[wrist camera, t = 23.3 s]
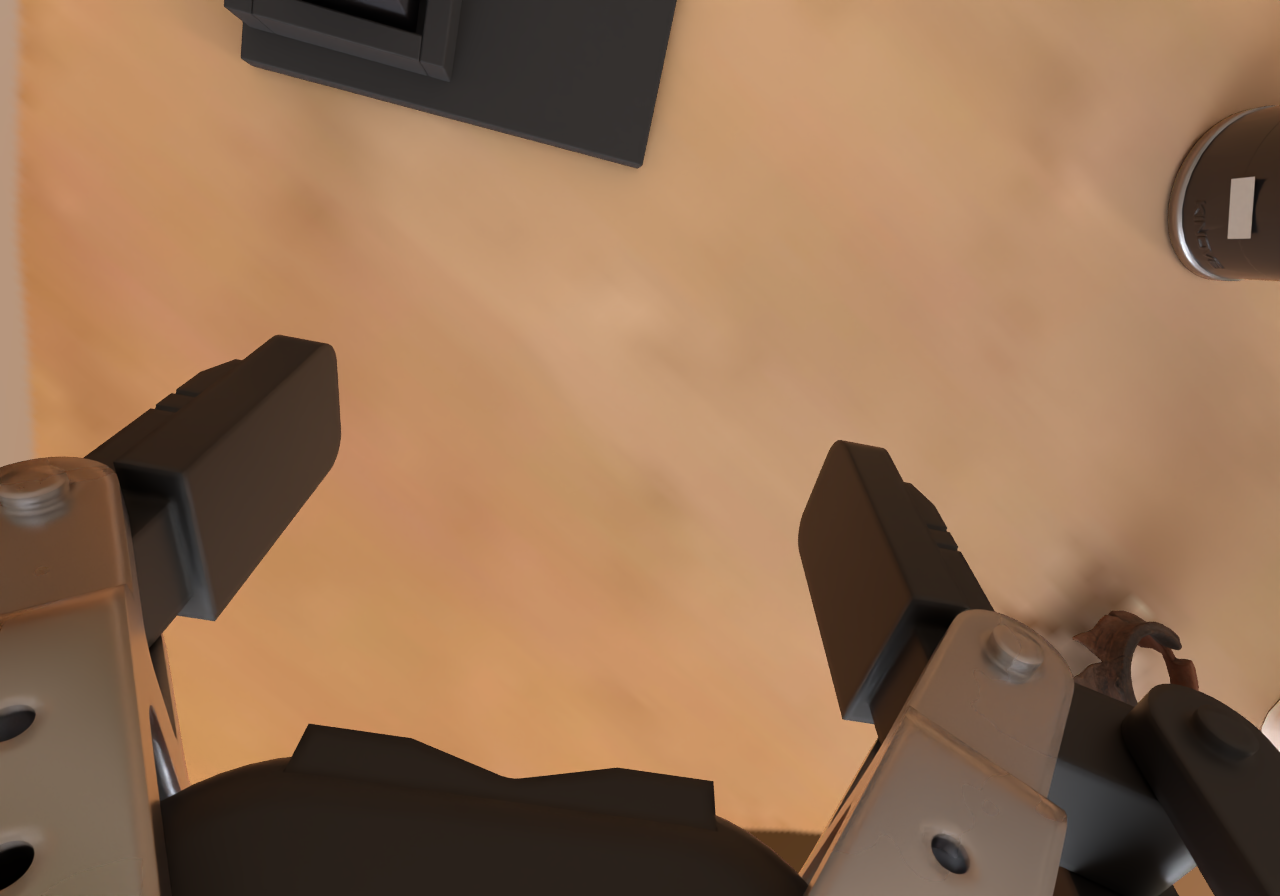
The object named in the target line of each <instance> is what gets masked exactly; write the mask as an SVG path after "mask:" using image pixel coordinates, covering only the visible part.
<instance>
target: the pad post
mask: <svg viewBox="0 0 1280 896" xmlns="http://www.w3.org/2000/svg"><path fill="white" fill-rule="evenodd" d="M304 1H307V2H311V3H314V4H318V5H321V6H325V7H328V8H332V9H335V10H339V11H342V12H346V13H349V14H353V15H356V16H359V17H363V18H366V19H370V20H373V21H377V22H380V23H384V24H387V25H391V26H394V27H398V28H401V29H405V30H408V31H412V32H416V25H417V17H418V9H419V1H420V0H304Z"/></svg>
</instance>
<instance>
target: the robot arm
mask: <svg viewBox="0 0 1280 896" xmlns="http://www.w3.org/2000/svg"><path fill="white" fill-rule="evenodd" d="M1168 229H1169V236H1170V240H1171V243H1172V246H1173V249H1174V251H1175V253H1176V255H1177V256H1178V258H1179V260H1180V261H1181V262H1182V263H1183V265H1184V266H1185V267H1186V268H1187V269H1189V270H1190V271H1191V272H1193V273H1194V274H1196V275H1198V276H1200V277H1203V278H1206V279H1210V280H1221V281H1239V280H1268V281H1280V105H1279V106H1264V107H1259V108H1254V109H1249V110H1245V111H1241V112H1238V113H1235V114H1233V115H1231V116H1229V117H1227V118H1225V119H1224V120H1222V121H1220V122H1219V123H1217V124H1216V125H1215V126H1213V127H1212V128H1211V129H1210V130H1209V131H1207V132H1206V133H1205V134H1204V135H1203V136H1202V137H1201V138H1200V140H1199V141H1198V142H1197V143H1196V144H1195V145H1194V147H1193V148H1192V149H1191V151H1190V152H1189V154H1188V155H1187V157H1186V158H1185V160H1184V162H1183V164H1182V166H1181V168H1180V170H1179V172H1178V174H1177V176H1176V179H1175V182H1174V185H1173V188H1172V191H1171V195H1170V201H1169V208H1168ZM340 440H341V422H340V406H339V390H338V373H337V359H336V354H335V351H334V349H333V347H332V346H331V345H329V344H326V343H320V342H315V341H310V340H304V339H299V338H294V337H288V336H283V335H276V336H274V337H272V338H271V339H269V340H268V341H267V342H266V343H264V344H263V345H262V346H260V347H259V348H258V349H257V350H255V351H254V352H253V353H251V354H250V355H249V356H248V357H246V358H245V359H244V360H237V359H235V360H232V361H229V362H227V363H224V364H221V365H218V366H215V367H213V368H210V369H207V370H204V371H202V372H200V373H198V374H197V375H196V376H194V377H193V378H192V379H190V380H189V381H187V382H186V383H185V384H183V385H182V386H181V387H179V388H178V389H177V390H176V394H173V393H171V394H170V395H168V396H167V397H166V398H164V399H163V400H162V401H160V402H159V403H157V404H156V408H155V409H149V410H148V411H147V412H145V413H144V414H143V415H141V416H140V417H138V418H137V419H136V420H134V421H133V422H132V423H130V424H129V425H128V426H126V427H125V428H123V429H122V430H121V431H119V432H118V433H117V434H115V435H114V436H113V437H111V438H110V439H108V440H107V441H106V442H104V443H103V444H102V445H100V446H99V447H98V448H96V449H95V450H93V451H92V452H91V453H89V454H88V455H87V456H85V457H84V458H78V457H48V458H38V459H32V460H27V461H22V462H17V463H13V464H9V465H6V466H3V467H0V896H1179V895H1178V894H1177V892H1176V890H1175V888H1174V886H1173V884H1174V883H1175V882H1177V881H1178V880H1179V879H1181V878H1182V877H1183V876H1184V875H1186V874H1187V873H1188V872H1190V871H1191V870H1192V869H1193V868H1195V867H1196V866H1198V868H1199V870H1200V872H1201V873H1202V875H1203V877H1204V878H1205V880H1206V882H1207V883H1208V885H1209V887H1210V889H1211V890H1212V892H1213V894H1214V895H1215V896H1280V752H1279V751H1278V749H1277V748H1276V747H1275V746H1274V745H1273V744H1272V743H1271V741H1270V740H1269V739H1268V738H1267V737H1266V736H1265V735H1264V734H1263V733H1262V732H1261V731H1260V730H1259V729H1257V728H1256V727H1255V726H1254V725H1253V724H1252V723H1250V722H1249V721H1248V720H1247V719H1245V718H1244V717H1243V716H1241V715H1240V714H1239V713H1237V712H1236V711H1234V710H1233V709H1231V708H1230V707H1228V706H1227V705H1225V704H1223V703H1222V702H1220V701H1218V700H1216V699H1214V698H1213V697H1211V696H1208V695H1206V694H1204V693H1202V692H1200V691H1197V690H1194V689H1192V688H1189V687H1185V686H1181V685H1176V684H1161V685H1157V686H1155V687H1154V688H1152V689H1151V690H1150V691H1149V692H1148V693H1147V694H1146V695H1145V696H1144V698H1143V699H1142V700H1141V701H1140V702H1139V703H1138V704H1137V705H1136V706H1135V707H1134V706H1132V705H1129V704H1127V703H1124V702H1122V701H1119V700H1117V699H1114V698H1112V697H1109V696H1107V695H1105V694H1102V693H1100V692H1097V691H1095V690H1092V689H1090V688H1087V687H1085V686H1082V685H1080V684H1077V683H1075V682H1074V679H1073V676H1072V673H1071V671H1070V668H1069V667H1068V665H1067V663H1066V662H1065V660H1064V659H1063V657H1062V656H1061V655H1060V654H1059V652H1058V651H1057V650H1056V649H1055V648H1054V647H1053V646H1052V645H1051V644H1050V643H1049V642H1048V641H1047V640H1045V639H1044V638H1043V637H1042V636H1041V635H1039V634H1038V633H1037V632H1035V631H1034V630H1032V629H1031V628H1029V627H1028V626H1026V625H1024V624H1023V623H1021V622H1019V621H1017V620H1015V619H1013V618H1011V617H1008V616H1006V615H1003V614H1000V613H997V612H995V611H994V609H993V608H992V606H991V604H990V602H989V601H988V599H987V597H986V595H985V594H984V592H983V590H982V588H981V587H980V585H979V583H978V581H977V579H976V578H975V576H974V574H973V572H972V571H971V569H970V567H969V565H968V564H967V562H966V560H965V558H964V557H963V555H962V553H961V552H959V551H957V548H958V546H957V544H956V543H955V541H954V539H953V537H952V536H951V534H950V532H947V531H946V530H947V527H946V525H945V523H944V521H943V520H942V518H941V516H940V514H939V513H938V511H937V509H936V507H935V506H934V505H933V504H932V503H931V502H930V501H929V500H928V499H927V498H926V497H925V496H924V495H923V494H922V493H921V492H920V491H918V490H917V489H916V488H915V487H914V486H913V485H912V484H911V483H906V482H903V480H902V478H901V476H900V474H899V472H898V470H897V468H896V467H895V465H894V463H893V461H892V459H891V457H890V455H889V453H888V452H887V450H885V449H884V448H880V447H875V446H869V445H864V444H858V443H853V442H848V441H842V440H838V441H836V442H835V443H834V444H833V445H832V447H831V448H830V450H829V452H828V454H827V457H826V459H825V462H824V464H823V466H822V469H821V471H820V474H819V476H818V479H817V481H816V483H815V486H814V488H813V491H812V493H811V495H810V498H809V500H808V503H807V505H806V507H805V510H804V512H803V515H802V518H801V522H800V527H799V535H798V546H799V553H800V556H801V560H802V564H803V568H804V572H805V576H806V580H807V583H808V587H809V591H810V595H811V599H812V603H813V607H814V611H815V614H816V618H817V622H818V626H819V630H820V634H821V638H822V641H823V645H824V649H825V653H826V657H827V661H828V665H829V668H830V672H831V676H832V680H833V684H834V688H835V692H836V696H837V699H838V703H839V707H840V711H841V715H842V719H844V720H850V721H857V722H864V723H870V724H874V725H875V728H876V731H877V735H878V738H877V740H876V741H875V743H874V745H873V746H872V748H871V749H870V751H869V753H868V754H867V756H866V758H865V760H864V761H863V763H862V765H861V767H860V768H859V770H858V772H857V774H856V775H855V777H854V779H853V781H852V782H851V784H850V786H849V788H848V789H847V791H846V793H845V795H844V796H843V798H842V800H841V802H840V804H839V805H838V807H837V809H836V811H835V812H834V814H833V816H832V818H831V819H830V821H829V823H828V825H827V826H826V828H825V830H824V832H823V833H822V835H821V837H820V839H819V840H818V842H817V844H816V846H815V847H814V849H813V851H812V852H811V854H810V856H809V858H808V859H807V861H806V862H805V864H804V866H803V867H802V869H801V871H800V872H799V874H798V873H797V872H796V871H795V870H794V869H793V868H792V867H791V866H790V865H789V864H788V863H787V862H786V861H785V860H784V859H782V858H781V857H780V856H779V855H778V854H777V853H776V852H774V851H773V850H772V849H771V848H770V847H768V846H767V845H766V844H764V843H763V842H762V841H760V840H759V839H757V838H756V837H755V836H753V835H752V834H750V833H749V832H747V831H745V830H744V829H742V828H740V827H738V826H737V825H735V824H733V823H731V822H729V821H728V820H725V819H723V818H721V817H718V816H716V815H715V800H714V785H713V781H707V780H700V779H693V778H686V777H679V776H672V775H665V774H658V773H651V772H644V771H637V770H630V769H623V768H610V769H601V770H592V771H584V772H575V773H566V774H557V775H548V776H539V777H530V778H520V779H513V778H506V777H503V776H500V775H498V774H495V773H493V772H491V771H488V770H486V769H483V768H481V767H479V766H476V765H474V764H472V763H469V762H467V761H464V760H462V759H460V758H457V757H455V756H452V755H450V754H448V753H445V752H443V751H441V750H438V749H436V748H433V747H431V746H429V745H426V744H424V743H422V742H419V741H417V740H414V739H412V738H406V737H399V736H392V735H385V734H378V733H371V732H364V731H357V730H350V729H343V728H336V727H329V726H322V725H315V724H308V726H307V728H306V730H305V732H304V734H303V736H302V738H301V740H300V742H299V744H298V746H297V748H296V750H295V751H294V753H293V755H292V757H287V758H278V759H273V760H268V761H263V762H259V763H254V764H249V765H246V766H243V767H240V768H236V769H233V770H230V771H227V772H224V773H220V774H218V775H215V776H213V777H211V778H208V779H206V780H203V781H201V782H198V783H196V784H194V785H191V786H190V781H189V777H188V773H187V768H186V763H185V757H184V752H183V746H182V739H181V733H180V727H179V721H178V715H177V709H176V703H175V697H174V690H173V684H172V678H171V672H170V666H169V660H168V654H167V648H166V644H165V640H164V637H163V631H164V630H165V629H166V628H167V627H168V625H169V624H170V623H171V622H172V621H173V619H174V618H175V617H176V616H177V615H178V616H184V617H191V618H197V619H204V620H210V621H215V620H216V619H217V618H218V616H219V615H220V614H221V613H222V611H223V610H224V609H225V607H226V606H227V605H228V603H229V602H230V601H231V599H232V598H233V597H234V595H235V594H236V593H237V592H238V590H239V589H240V588H241V586H242V585H243V584H244V582H245V581H246V580H247V578H248V577H249V576H250V574H251V573H252V572H253V571H254V569H255V568H256V567H257V565H258V564H259V563H260V561H261V560H262V559H263V557H264V556H265V555H266V553H267V552H268V551H269V550H270V548H271V547H272V546H273V544H274V543H275V542H276V540H277V539H278V538H279V536H280V535H281V534H282V533H283V531H284V530H285V529H286V527H287V526H288V525H289V523H290V522H291V521H292V519H293V518H294V517H295V515H296V514H297V513H298V512H299V510H300V509H301V508H302V506H303V505H304V504H305V502H306V501H307V500H308V498H309V497H310V496H311V494H312V493H313V492H314V491H315V489H316V488H317V487H318V485H319V484H320V483H321V481H322V480H323V479H324V477H325V476H326V475H327V473H328V472H329V471H330V469H331V468H332V466H333V464H334V462H335V460H336V457H337V454H338V450H339V446H340Z"/></svg>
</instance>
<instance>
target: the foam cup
mask: <svg viewBox="0 0 1280 896" xmlns="http://www.w3.org/2000/svg"><path fill="white" fill-rule="evenodd" d="M1262 733H1263V734H1264V735H1265V736H1266V737H1267V738H1268V739H1269V740H1270V741H1271V743H1272V744H1273V745H1274V746H1275V747H1276V748H1277V749H1278V751H1279V752H1280V700H1279V701H1278V703H1277V704H1276V705H1275V706H1274V707H1273V708H1272V709H1271V710H1270V712H1269V713H1268V715H1267V717H1266V719H1265V721H1264V724H1263V726H1262Z"/></svg>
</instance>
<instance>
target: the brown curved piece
mask: <svg viewBox="0 0 1280 896" xmlns="http://www.w3.org/2000/svg"><path fill="white" fill-rule="evenodd" d="M1073 640H1075V641H1077V642H1080V643H1081V644H1082V645H1084V646H1085V647H1087V648H1088V649H1089V650H1090V651H1091V652H1092V653H1093V654H1095V655H1096V656H1097V657H1098V658H1099V659H1100V660H1101V661H1102V662H1101V663H1095V664H1092V665H1089V666H1088V667H1087V668H1086V669H1084V671H1083V672H1082V673H1080V674H1079V675H1077V676H1075V677H1074V678H1073V679H1074V682H1075V683H1077V684H1080V685H1082V686H1085V687H1087V688H1090V689H1092V690H1095V691H1097V692H1100V693H1102V694H1105V695H1107V696H1109V697H1112V698H1114V699H1117V700H1119V701H1122V702H1124V703H1127V704H1129V705H1132V706H1134V707H1135V706H1136V705H1137V704H1138V703H1137V700H1136V698H1135V695H1134V691H1133V687H1132V680H1131V661H1132V657H1133V653H1134V651H1135V648H1136V646H1137V645H1138V646H1140V647H1144V648H1152V649H1155V650H1156V651H1158V652H1160V653H1162V655H1163V658H1164V660H1165V662H1166V666H1167V669H1168V673H1169V677H1170V683H1171V684H1176V685H1181V686H1185V687H1189V688H1192V689H1194V690H1197V691H1198V688H1199V686H1198V680H1197V675H1196V670H1195V667H1194V664H1193V662H1192V661H1191V660H1187V659H1177V658H1176V657H1175V656H1174V654H1173V651H1172V650H1171V649H1175V650H1180V649H1181V648H1182V645H1181V643H1180V639H1179V637H1178V635H1177V634H1176V633H1174V632H1173V631H1172V630H1171V629H1170V628H1168V627H1166V626H1164V625H1163V624H1160V623H1157V622H1146V621H1144V620H1142V619H1141V618H1139V617H1138V616H1136V615H1134V614H1132V613H1129V612H1126V611H1111V612H1110V613H1109V614H1108V615H1105V616H1104V617H1102V618H1101V619H1100V620H1099V621H1098V623H1097V624H1096V626H1095V627H1094V628H1093V629H1092V630H1090V631H1088V632H1085V633H1081V634H1078V635H1076V636H1074V637H1073Z"/></svg>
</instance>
